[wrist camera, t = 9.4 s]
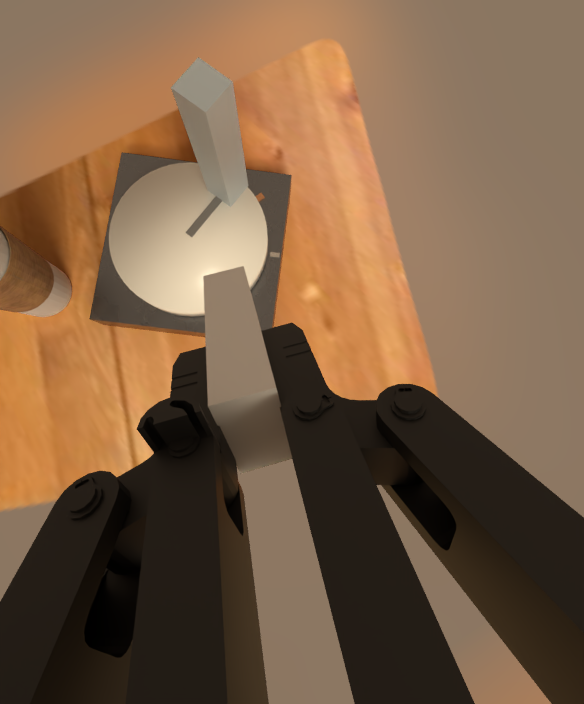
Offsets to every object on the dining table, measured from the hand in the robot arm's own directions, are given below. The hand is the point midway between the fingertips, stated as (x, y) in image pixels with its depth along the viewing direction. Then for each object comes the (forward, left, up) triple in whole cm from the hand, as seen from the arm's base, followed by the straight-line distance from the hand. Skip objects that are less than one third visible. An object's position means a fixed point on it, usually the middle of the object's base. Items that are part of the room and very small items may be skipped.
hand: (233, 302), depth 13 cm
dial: (-9, +11, -22) cm, 27 cm away
